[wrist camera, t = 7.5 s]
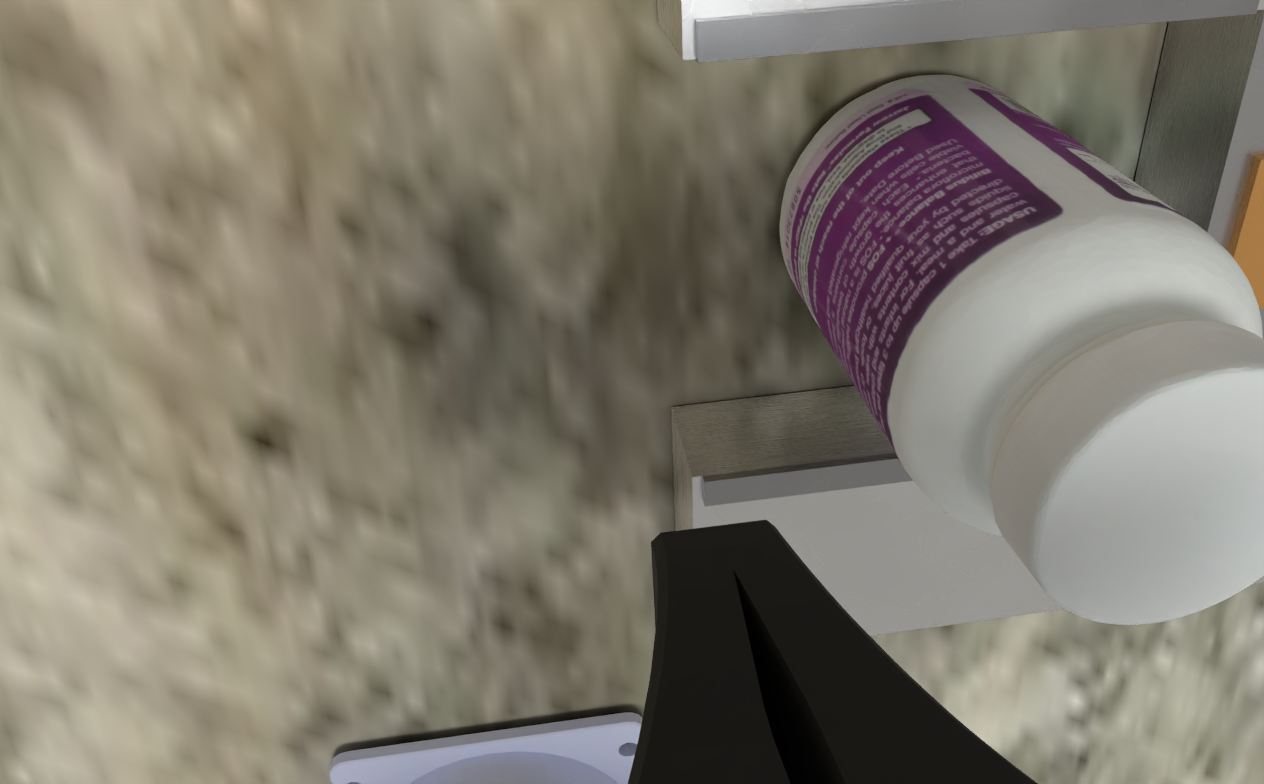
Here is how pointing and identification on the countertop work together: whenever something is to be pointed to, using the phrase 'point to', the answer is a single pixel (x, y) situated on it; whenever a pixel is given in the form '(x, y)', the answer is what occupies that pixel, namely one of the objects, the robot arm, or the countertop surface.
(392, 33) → the countertop surface
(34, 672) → the countertop surface
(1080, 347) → the pill bottle
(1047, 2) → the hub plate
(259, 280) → the countertop surface
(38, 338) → the countertop surface
